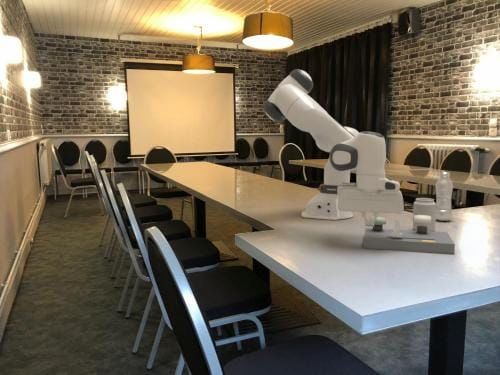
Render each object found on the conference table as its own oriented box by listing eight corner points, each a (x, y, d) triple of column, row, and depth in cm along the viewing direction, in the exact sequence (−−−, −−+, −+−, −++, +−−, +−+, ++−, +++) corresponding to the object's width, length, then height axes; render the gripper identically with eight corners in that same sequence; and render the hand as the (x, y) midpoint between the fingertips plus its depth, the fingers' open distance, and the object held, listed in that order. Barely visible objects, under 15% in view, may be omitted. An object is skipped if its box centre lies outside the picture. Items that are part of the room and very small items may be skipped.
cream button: (414, 222, 135) (414, 217, 134) (413, 219, 139) (413, 214, 139) (431, 223, 133) (431, 218, 133) (430, 220, 138) (430, 215, 138)
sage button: (369, 224, 139) (369, 219, 139) (370, 221, 144) (370, 216, 144) (385, 225, 137) (385, 219, 137) (385, 222, 142) (385, 216, 142)
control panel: (363, 248, 130) (363, 232, 130) (365, 236, 145) (365, 222, 145) (454, 254, 122) (455, 237, 122) (446, 240, 137) (447, 226, 137)
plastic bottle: (454, 222, 166) (456, 172, 163) (436, 222, 167) (437, 172, 165) (449, 219, 172) (451, 171, 170) (432, 219, 173) (434, 171, 171)
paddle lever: (391, 237, 129) (392, 221, 128) (391, 234, 133) (391, 218, 133) (402, 238, 128) (403, 221, 127) (402, 234, 132) (402, 218, 132)
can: (433, 229, 155) (435, 197, 153) (435, 233, 148) (437, 200, 146) (412, 228, 157) (413, 196, 156) (413, 232, 150) (414, 199, 149)
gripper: (336, 183, 131) (335, 226, 133) (404, 184, 125) (403, 229, 127) (338, 181, 137) (337, 222, 139) (404, 182, 131) (402, 225, 133)
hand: (369, 225), depth 133 cm, fingers closed
